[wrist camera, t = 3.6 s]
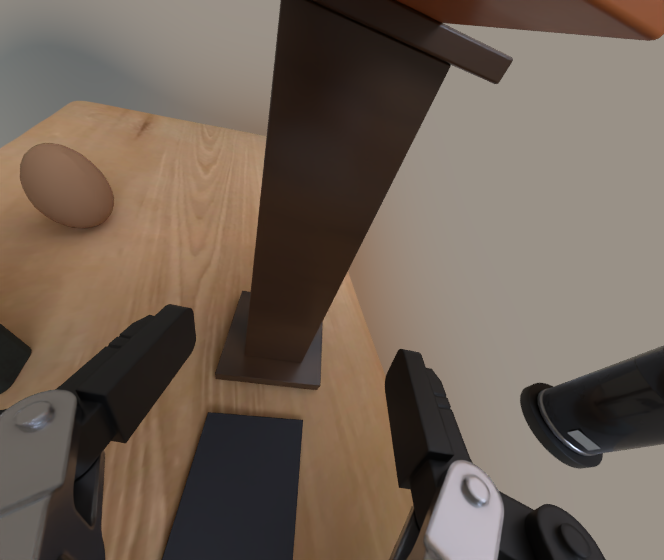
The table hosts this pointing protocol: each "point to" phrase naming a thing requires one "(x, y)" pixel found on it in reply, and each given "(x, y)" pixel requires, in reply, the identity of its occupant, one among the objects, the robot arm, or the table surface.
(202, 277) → the table surface
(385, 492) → the table surface
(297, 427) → the mat
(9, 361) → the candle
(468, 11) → the lever bar
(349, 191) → the pedestal
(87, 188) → the egg
